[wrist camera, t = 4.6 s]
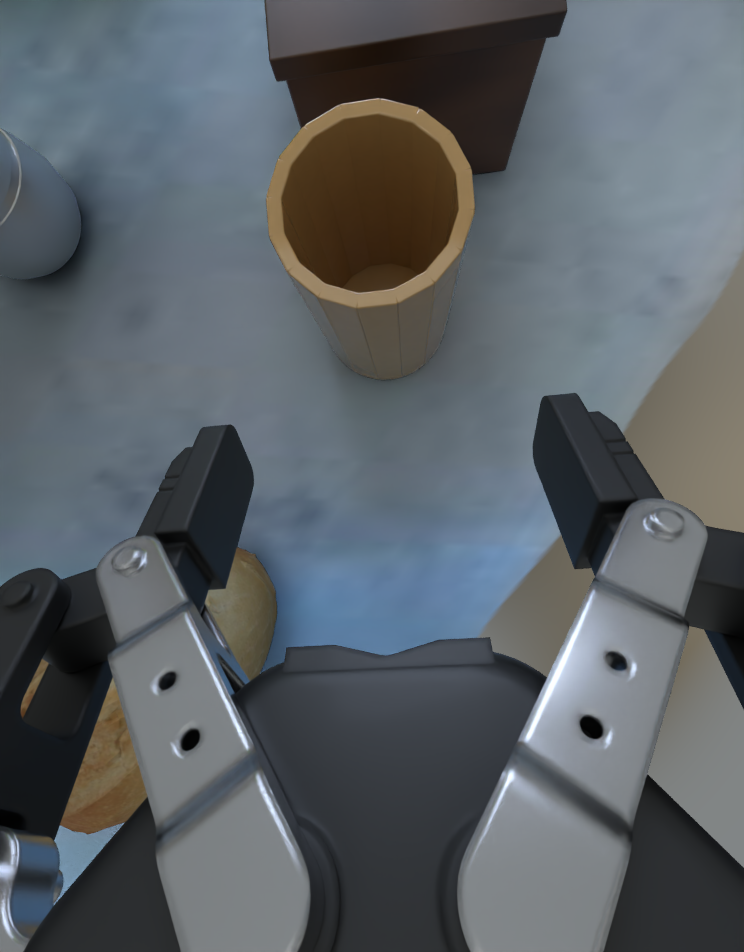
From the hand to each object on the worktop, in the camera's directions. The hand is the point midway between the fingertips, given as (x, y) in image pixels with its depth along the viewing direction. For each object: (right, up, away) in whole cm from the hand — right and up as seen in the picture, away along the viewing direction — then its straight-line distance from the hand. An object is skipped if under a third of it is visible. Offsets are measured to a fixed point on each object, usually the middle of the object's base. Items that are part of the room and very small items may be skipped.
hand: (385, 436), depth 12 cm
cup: (0, +7, +12) cm, 14 cm away
